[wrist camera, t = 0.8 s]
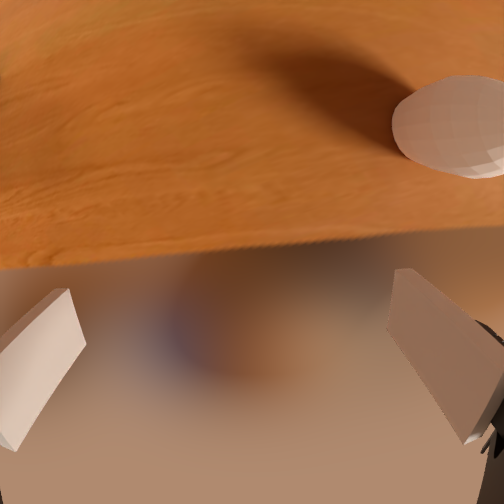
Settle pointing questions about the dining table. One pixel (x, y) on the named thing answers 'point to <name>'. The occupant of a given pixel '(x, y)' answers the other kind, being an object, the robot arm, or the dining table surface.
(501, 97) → the bottle
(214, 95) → the dining table surface
